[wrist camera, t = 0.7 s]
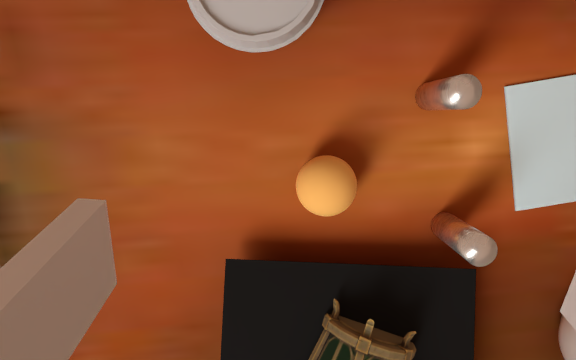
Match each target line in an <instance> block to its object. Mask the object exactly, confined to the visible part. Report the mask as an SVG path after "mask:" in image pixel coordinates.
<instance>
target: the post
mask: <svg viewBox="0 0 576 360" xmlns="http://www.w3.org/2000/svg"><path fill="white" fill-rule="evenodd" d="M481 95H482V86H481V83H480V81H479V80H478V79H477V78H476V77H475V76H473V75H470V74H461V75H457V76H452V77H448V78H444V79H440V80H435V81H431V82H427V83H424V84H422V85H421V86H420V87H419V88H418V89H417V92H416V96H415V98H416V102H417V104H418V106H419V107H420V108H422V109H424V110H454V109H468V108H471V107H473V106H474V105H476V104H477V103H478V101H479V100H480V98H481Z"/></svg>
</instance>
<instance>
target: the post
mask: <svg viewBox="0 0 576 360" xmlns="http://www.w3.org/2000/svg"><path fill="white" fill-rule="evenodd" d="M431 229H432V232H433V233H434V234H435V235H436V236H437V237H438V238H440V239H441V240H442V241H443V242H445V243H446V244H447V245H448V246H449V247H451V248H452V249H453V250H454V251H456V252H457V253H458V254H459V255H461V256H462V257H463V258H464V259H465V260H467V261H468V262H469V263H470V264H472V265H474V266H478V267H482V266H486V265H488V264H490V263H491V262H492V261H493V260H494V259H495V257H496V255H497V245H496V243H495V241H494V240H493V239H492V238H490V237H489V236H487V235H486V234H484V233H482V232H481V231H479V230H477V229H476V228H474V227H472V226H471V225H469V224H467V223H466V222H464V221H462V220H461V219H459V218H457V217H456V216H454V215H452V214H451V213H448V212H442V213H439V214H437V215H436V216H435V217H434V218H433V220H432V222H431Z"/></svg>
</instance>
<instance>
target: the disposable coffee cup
mask: <svg viewBox="0 0 576 360" xmlns="http://www.w3.org/2000/svg"><path fill="white" fill-rule="evenodd" d="M187 1H188V4H189V6H190V9H191V10H192V12H193V14H194V16H195V18H196V19H197V21H198V22H199V23H200V25H201V26H202V27H203V28H204V29H205V30H206V31H207V32H208V33H209V34H210V35H211V36H212V37H213V38H215V39H216V40H218V41H219V42H221V43H223V44H224V45H226V46H229V47H231V48H234V49H237V50H241V51H246V52H267V51H272V50H275V49H278V48H281V47H284V46H286V45H288V44H289V43H291V42H293V41H295V40H296V39H298V38H299V37H300V36H301V35H302V34H303V33H304V32H305V31H306V30H307V29H308V28H309V27H310V26H311V24H312V23H313V21H314V20H315V18H316V17H317V15H318V13H319V11H320V9H321V6H322V4H323V1H324V0H187Z"/></svg>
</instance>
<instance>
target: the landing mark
mask: <svg viewBox="0 0 576 360" xmlns="http://www.w3.org/2000/svg"><path fill="white" fill-rule="evenodd" d="M504 90H505V102H506V113H507V124H508V135H509V147H510V158H511V169H512V181H513V192H514V203H515V211H519V210H525V209H532V208H538V207H544V206H550V205H556V204H562V203H568V202H575V201H576V75H571V76H565V77H559V78H553V79H547V80H541V81H535V82H530V83H524V84H518V85H512V86H506V87H504Z"/></svg>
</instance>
